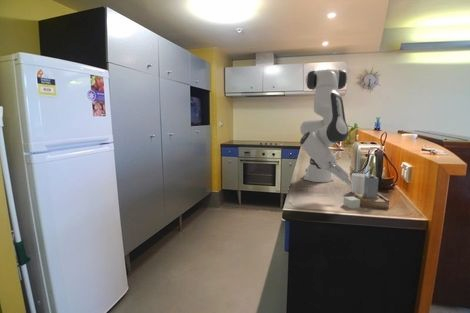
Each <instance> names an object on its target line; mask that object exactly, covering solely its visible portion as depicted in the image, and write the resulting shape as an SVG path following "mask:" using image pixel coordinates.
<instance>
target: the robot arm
mask: <svg viewBox="0 0 470 313" xmlns="http://www.w3.org/2000/svg"><path fill="white" fill-rule="evenodd" d="M347 84H348V75H347V71H346V70H345V69H329V68H328V69H320V70H315V69H314V70H310V71H309V72H307V75H306V78H305V85H306V88H307V89H309V90H312V91H314V90H315V92H314V98H313V99H314V100H313V112H314V113H315V114H316V115H318V116H320V117H322V119H319V120H318V119H316V120H315V119H311V120H304V121H303V122H302V123H301V125H300V127H299V128H300V130H299V131H300V134H301V135H302V137H301V139H300V141H299V142H300V143H299V144H300V147H301V148H302V150H303V151H304V152H305V153H306V154H307V155H308V156H309V157H310V158H309V165H308V166H307V168H305V172H306V173H304V176H303V180H305V181H310V182H314V183H328V182H332V181H334V178H333V177H332V175H334V176H336V177H337V178H338V179H339V180H341V181H342V182H345V184H347V185H348V186H350V185H351V183H352V182H351V179H349V177H350V175H349V174H348V173H347V172H346V171H345V170H344V169H343V168H342V167H341V166H340V165H339V164H338V161H337V159H338V157H337V156H336V155H335V153H333V152H332V150H330V146H333V145H335V144H338V143H341V142H344V141H346V139H348V136H349V128H348V124H347V121H346V114H345V108H344V106H345V105H344V100H343V96H341V94H340V93H339V90H342V89H343V88H345V87H346V85H347Z"/></svg>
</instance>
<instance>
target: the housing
mask: <svg viewBox="0 0 470 313" xmlns="http://www.w3.org/2000/svg"><path fill="white" fill-rule="evenodd" d="M378 191H379V177H377V176H375V174H368V175H367V176H365V182H364V194H363V195H362V196H363V197H365V198H366V199H378V197H377V193H379V192H378Z"/></svg>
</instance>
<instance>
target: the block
mask: <svg viewBox="0 0 470 313" xmlns="http://www.w3.org/2000/svg"><path fill="white" fill-rule="evenodd" d="M343 206H344V207H346V208H348V209H350V208H351V209H360V208H361V207H360V199H358V198H355V197H353V196H343Z"/></svg>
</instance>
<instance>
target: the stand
mask: <svg viewBox="0 0 470 313" xmlns="http://www.w3.org/2000/svg"><path fill="white" fill-rule="evenodd" d="M362 195H363V194H357V193H356V192H353V193H352V197H355V198H358V199H360V208H367V209H369V208H371V209H389V207H390V199H388V198H386V197H385V196H383V195H382V194H381V193H380V192H378V193H377V197H378V199H366V198H365V197H363V196H362Z"/></svg>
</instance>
